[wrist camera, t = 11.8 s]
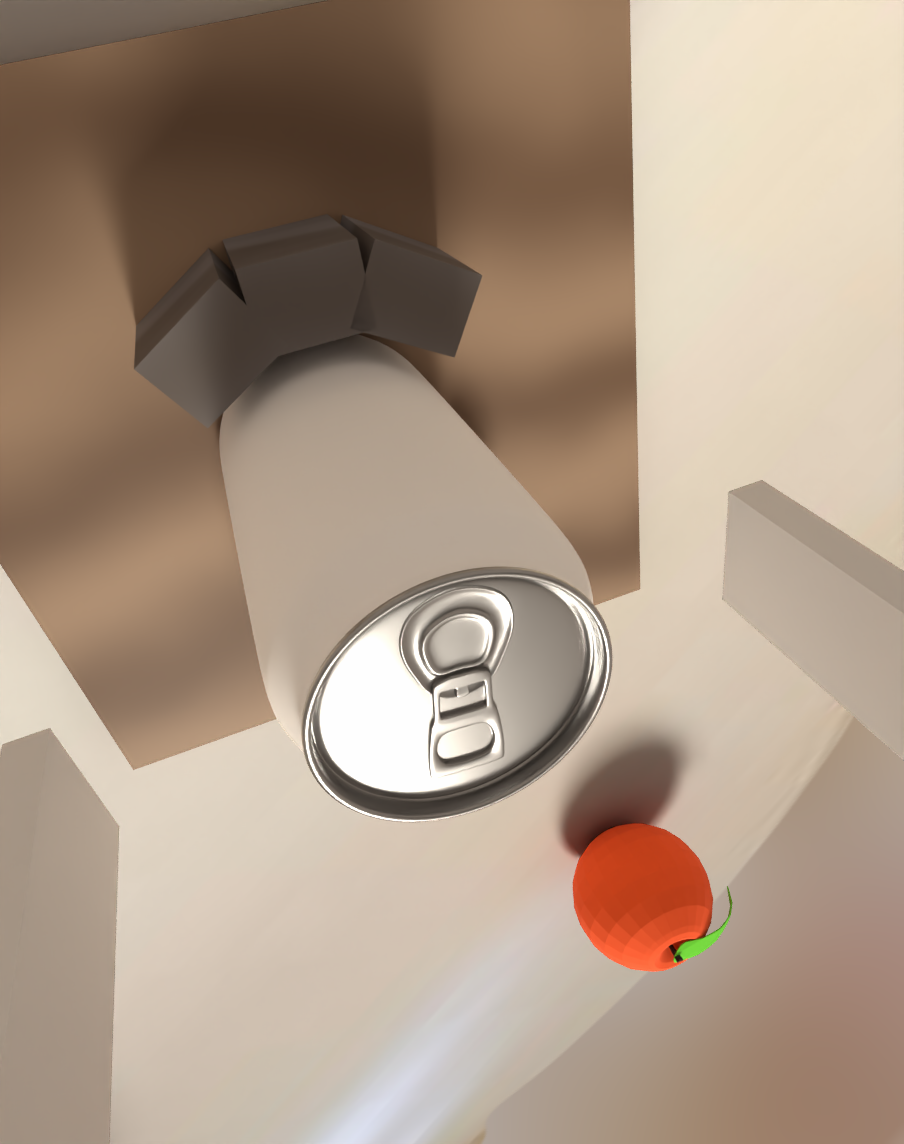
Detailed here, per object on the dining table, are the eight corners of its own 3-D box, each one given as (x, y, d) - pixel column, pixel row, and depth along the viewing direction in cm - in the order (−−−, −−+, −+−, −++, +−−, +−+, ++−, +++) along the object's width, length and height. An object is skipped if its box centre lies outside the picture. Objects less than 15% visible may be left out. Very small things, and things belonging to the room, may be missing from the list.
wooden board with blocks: (625, 573, 31) (690, 641, 27) (134, 745, 28) (131, 851, 24) (604, -53, 19) (715, -82, 15) (-260, 117, 16) (-387, 132, 12)
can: (426, 310, 21) (651, 505, 12) (441, 509, 25) (622, 778, 16) (190, 347, 20) (233, 604, 10) (244, 553, 23) (311, 881, 14)
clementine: (691, 776, 41) (779, 889, 35) (669, 857, 44) (745, 971, 39) (555, 814, 38) (626, 942, 33) (545, 895, 42) (606, 1022, 37)
